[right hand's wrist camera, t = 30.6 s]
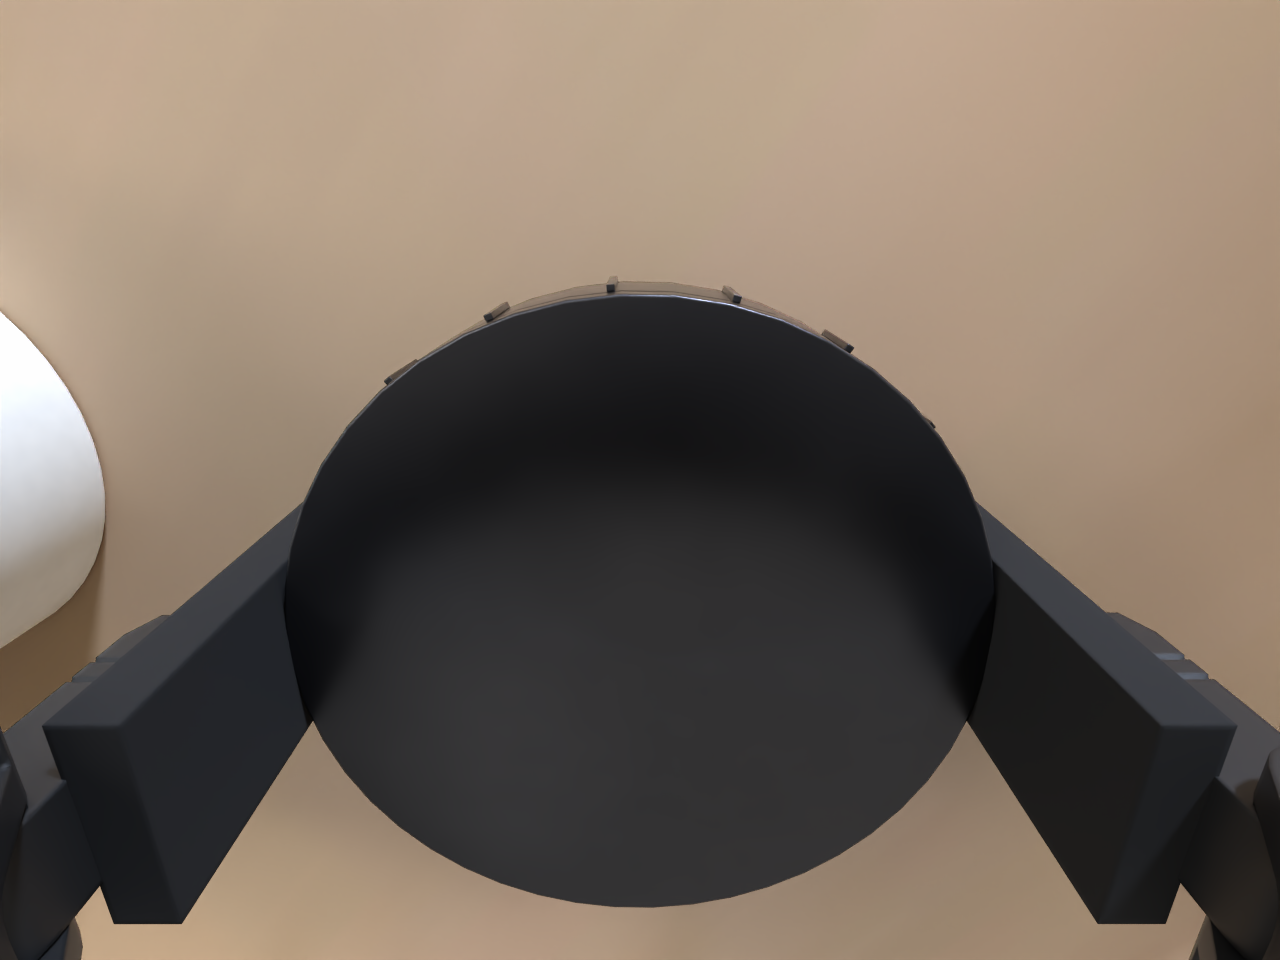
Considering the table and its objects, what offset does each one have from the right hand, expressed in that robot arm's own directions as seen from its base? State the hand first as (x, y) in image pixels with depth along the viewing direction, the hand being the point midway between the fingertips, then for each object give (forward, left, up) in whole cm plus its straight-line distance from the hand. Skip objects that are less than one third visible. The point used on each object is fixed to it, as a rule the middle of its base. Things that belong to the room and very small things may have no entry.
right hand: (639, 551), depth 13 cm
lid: (0, 0, +3) cm, 3 cm away
